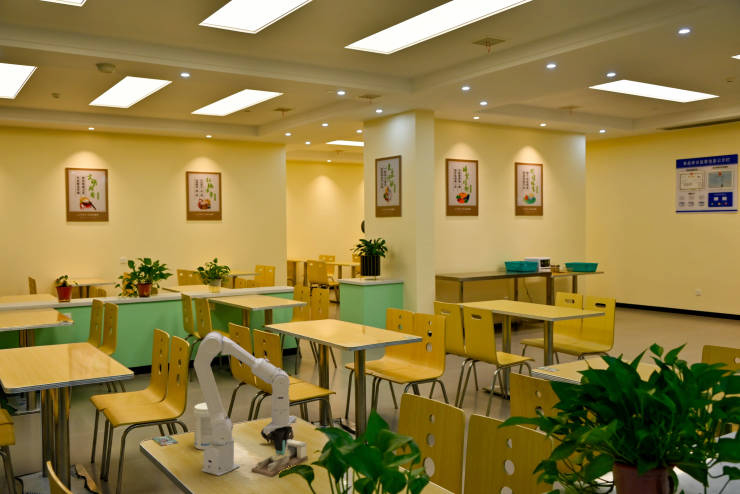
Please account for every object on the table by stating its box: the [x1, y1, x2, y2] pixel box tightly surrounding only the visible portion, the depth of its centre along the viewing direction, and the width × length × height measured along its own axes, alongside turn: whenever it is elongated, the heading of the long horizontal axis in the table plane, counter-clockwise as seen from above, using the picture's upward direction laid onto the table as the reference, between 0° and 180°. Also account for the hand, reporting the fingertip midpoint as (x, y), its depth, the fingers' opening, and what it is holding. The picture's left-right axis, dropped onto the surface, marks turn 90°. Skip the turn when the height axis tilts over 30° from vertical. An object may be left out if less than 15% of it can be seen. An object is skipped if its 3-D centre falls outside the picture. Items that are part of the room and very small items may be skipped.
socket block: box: [285, 439, 308, 459], centre depth 217 cm, size 3×7×4 cm, turn 58°
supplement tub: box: [193, 402, 212, 451], centre depth 228 cm, size 10×10×15 cm
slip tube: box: [269, 440, 297, 463], centre depth 212 cm, size 12×3×7 cm, turn 148°
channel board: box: [251, 455, 309, 478], centre depth 210 cm, size 19×8×3 cm, turn 148°
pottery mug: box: [260, 428, 295, 444], centre depth 230 cm, size 12×10×8 cm
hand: (280, 449), depth 210 cm, fingers closed on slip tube
